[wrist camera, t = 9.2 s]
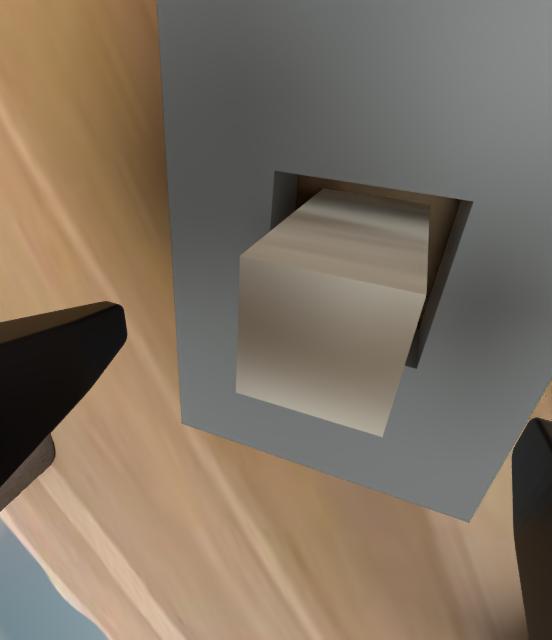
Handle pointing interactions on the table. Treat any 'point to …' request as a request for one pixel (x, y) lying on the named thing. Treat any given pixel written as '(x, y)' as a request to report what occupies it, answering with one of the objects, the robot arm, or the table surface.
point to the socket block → (375, 170)
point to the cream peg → (333, 307)
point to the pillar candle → (27, 472)
